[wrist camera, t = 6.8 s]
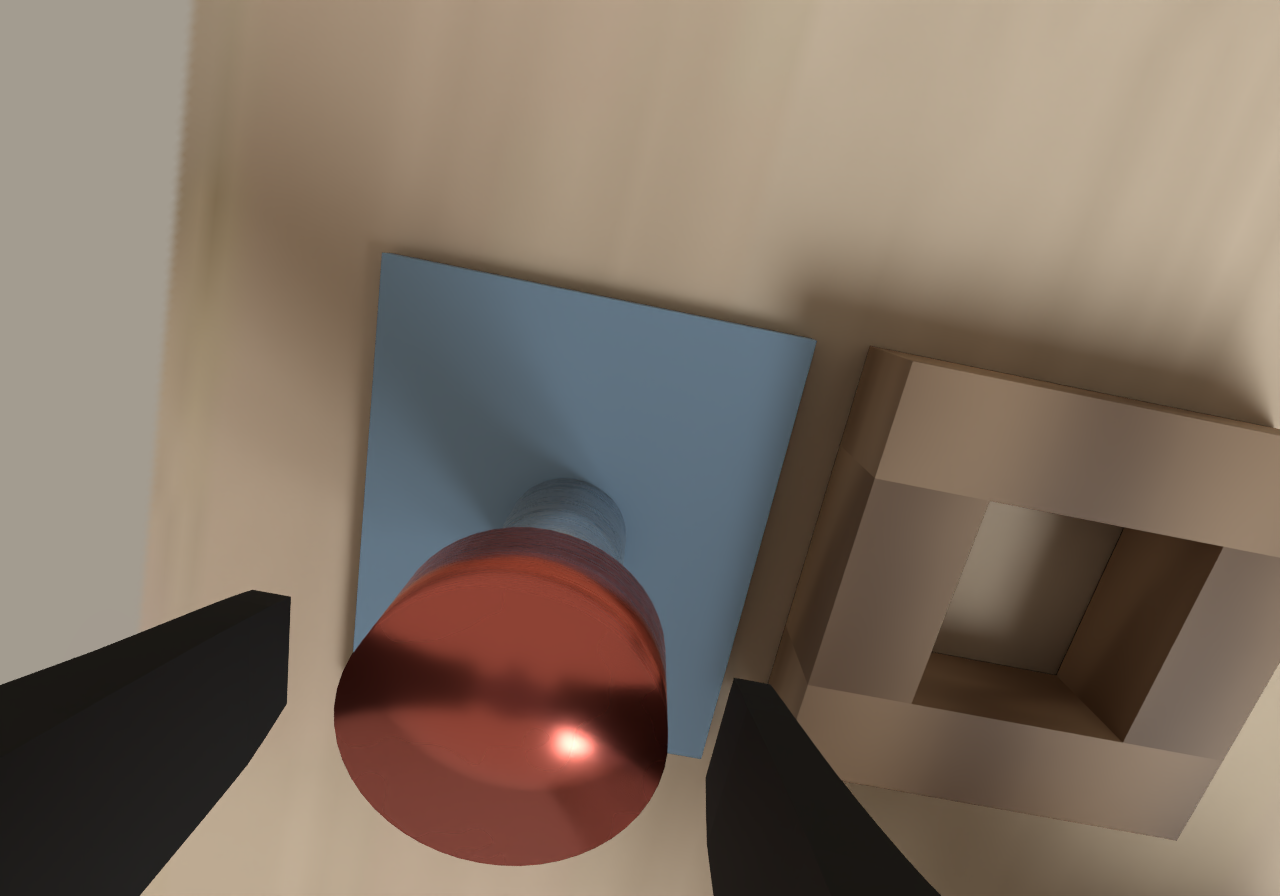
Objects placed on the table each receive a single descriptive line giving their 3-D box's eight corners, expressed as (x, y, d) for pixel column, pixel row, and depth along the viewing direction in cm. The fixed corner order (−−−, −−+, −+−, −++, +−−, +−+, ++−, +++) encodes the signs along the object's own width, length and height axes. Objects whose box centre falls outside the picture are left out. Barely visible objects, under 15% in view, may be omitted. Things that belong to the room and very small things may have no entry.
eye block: (1277, 428, 15) (1397, 459, 12) (1106, 763, 18) (1176, 840, 15) (870, 345, 14) (912, 361, 12) (762, 700, 17) (780, 770, 15)
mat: (811, 338, 14) (816, 340, 14) (699, 745, 18) (700, 759, 17) (391, 252, 14) (382, 252, 14) (358, 684, 18) (349, 696, 17)
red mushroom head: (680, 465, 15) (701, 626, 8) (640, 633, 16) (631, 889, 10) (485, 425, 15) (345, 557, 8) (461, 598, 16) (324, 835, 9)
